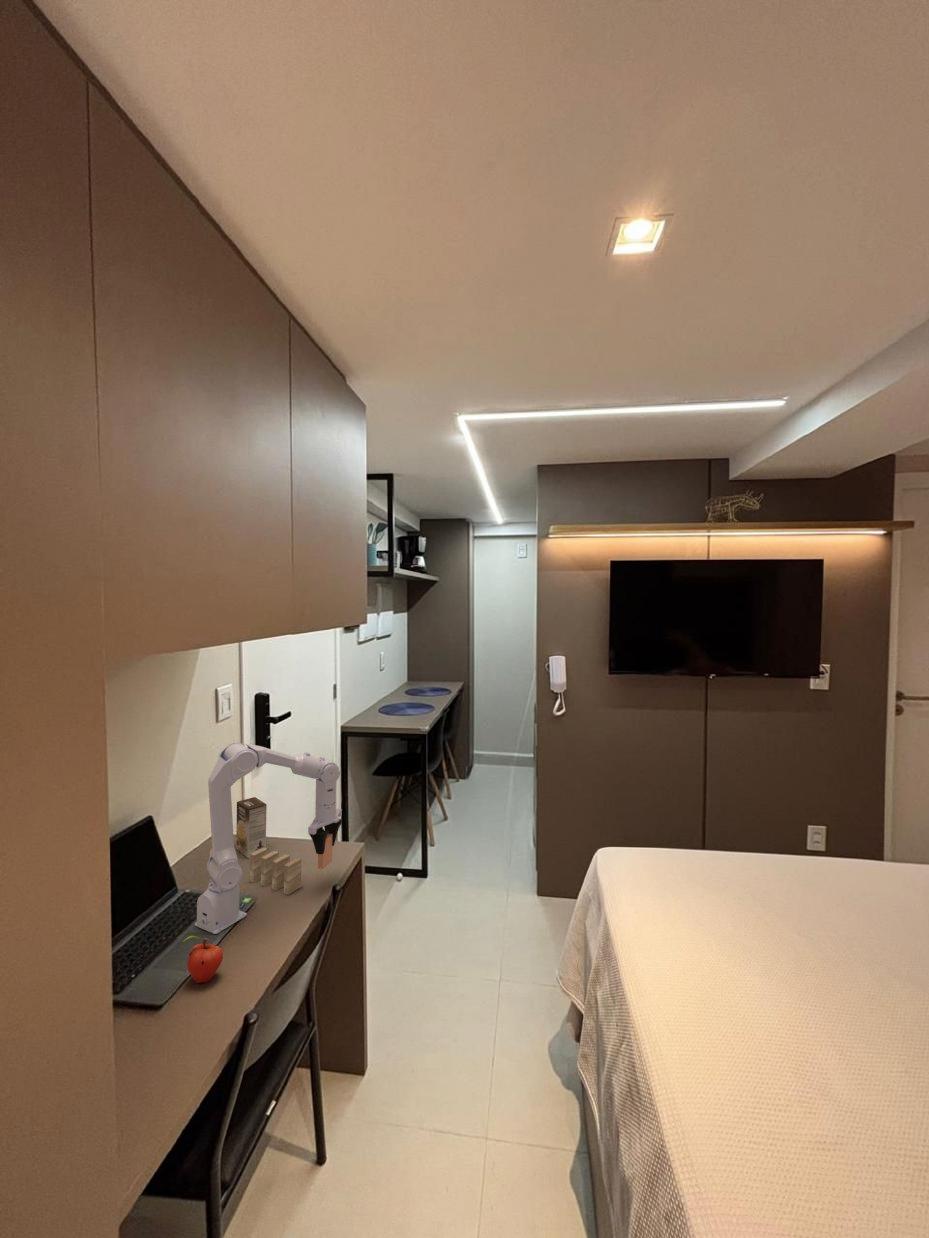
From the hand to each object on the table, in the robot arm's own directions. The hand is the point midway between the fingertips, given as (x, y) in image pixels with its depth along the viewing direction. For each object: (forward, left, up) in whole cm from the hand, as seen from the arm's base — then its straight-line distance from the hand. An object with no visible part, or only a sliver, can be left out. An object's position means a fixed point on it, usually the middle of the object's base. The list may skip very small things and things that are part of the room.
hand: (325, 849), depth 154 cm
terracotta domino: (0, 0, -4) cm, 4 cm away
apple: (-42, -4, -11) cm, 44 cm away
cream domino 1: (-6, +20, -10) cm, 23 cm away
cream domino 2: (-6, +15, -10) cm, 19 cm away
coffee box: (+5, +36, -11) cm, 37 cm away
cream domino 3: (-6, +11, -10) cm, 16 cm away
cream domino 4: (-6, +6, -10) cm, 14 cm away
